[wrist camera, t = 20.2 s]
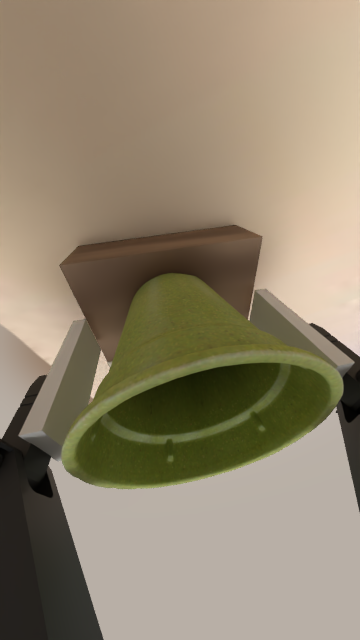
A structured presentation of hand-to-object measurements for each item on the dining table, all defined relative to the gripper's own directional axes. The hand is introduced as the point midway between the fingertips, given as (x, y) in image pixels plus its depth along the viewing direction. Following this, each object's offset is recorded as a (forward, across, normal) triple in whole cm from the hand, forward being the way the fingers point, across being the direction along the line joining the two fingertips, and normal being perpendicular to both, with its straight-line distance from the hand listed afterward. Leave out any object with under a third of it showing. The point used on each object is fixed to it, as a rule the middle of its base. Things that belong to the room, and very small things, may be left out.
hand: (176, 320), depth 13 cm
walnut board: (+5, 0, -4) cm, 6 cm away
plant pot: (+1, 0, 0) cm, 1 cm away
